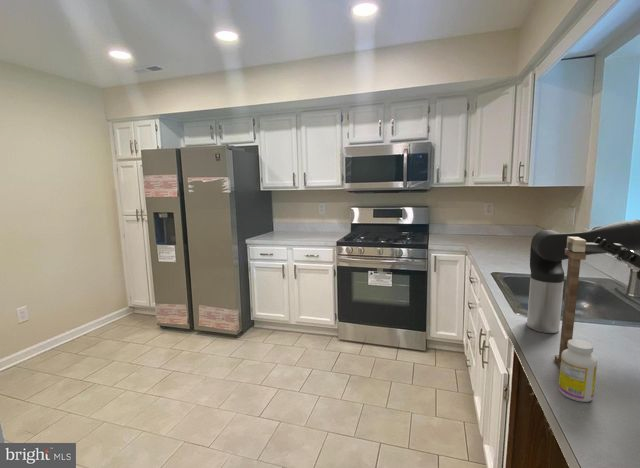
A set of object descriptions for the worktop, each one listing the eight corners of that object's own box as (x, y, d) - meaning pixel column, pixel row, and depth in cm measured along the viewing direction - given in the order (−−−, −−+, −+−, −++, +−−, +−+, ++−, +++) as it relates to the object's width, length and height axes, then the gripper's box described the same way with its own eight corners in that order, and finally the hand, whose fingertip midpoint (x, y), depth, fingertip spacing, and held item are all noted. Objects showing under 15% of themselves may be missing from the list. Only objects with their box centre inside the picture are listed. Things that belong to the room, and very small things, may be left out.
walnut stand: (554, 359, 95) (565, 248, 89) (564, 360, 94) (576, 248, 89) (562, 371, 89) (574, 253, 84) (573, 372, 88) (586, 253, 83)
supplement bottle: (577, 385, 83) (583, 336, 81) (600, 402, 77) (607, 350, 75) (551, 386, 83) (556, 337, 81) (572, 403, 76) (577, 351, 74)
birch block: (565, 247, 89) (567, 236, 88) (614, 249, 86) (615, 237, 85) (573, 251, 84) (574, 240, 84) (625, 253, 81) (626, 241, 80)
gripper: (662, 259, 86) (596, 224, 90) (703, 274, 73) (624, 233, 77) (640, 282, 89) (576, 248, 92) (677, 301, 76) (600, 260, 79)
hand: (598, 241), depth 84 cm, fingers closed on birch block, 2 cm apart
